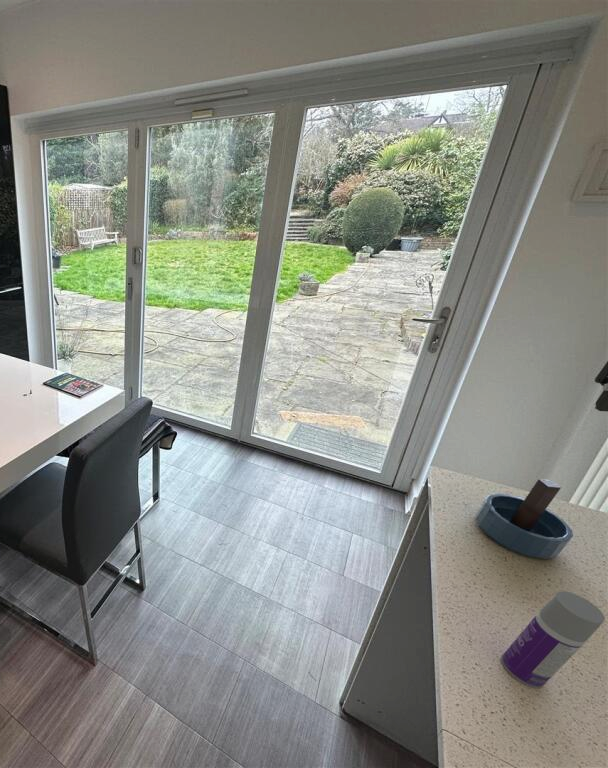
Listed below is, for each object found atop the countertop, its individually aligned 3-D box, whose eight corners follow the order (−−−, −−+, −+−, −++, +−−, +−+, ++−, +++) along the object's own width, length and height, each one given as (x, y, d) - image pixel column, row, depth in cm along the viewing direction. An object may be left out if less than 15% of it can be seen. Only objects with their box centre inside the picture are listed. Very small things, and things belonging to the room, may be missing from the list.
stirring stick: (516, 529, 84) (550, 480, 78) (525, 537, 82) (561, 487, 76) (505, 528, 84) (538, 479, 78) (513, 536, 82) (548, 486, 76)
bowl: (521, 515, 88) (534, 496, 86) (575, 564, 77) (592, 544, 75) (459, 510, 89) (471, 490, 87) (505, 557, 78) (519, 537, 76)
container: (492, 651, 63) (544, 587, 56) (526, 656, 62) (583, 592, 55) (516, 685, 58) (575, 621, 51) (552, 691, 58) (617, 626, 51)
